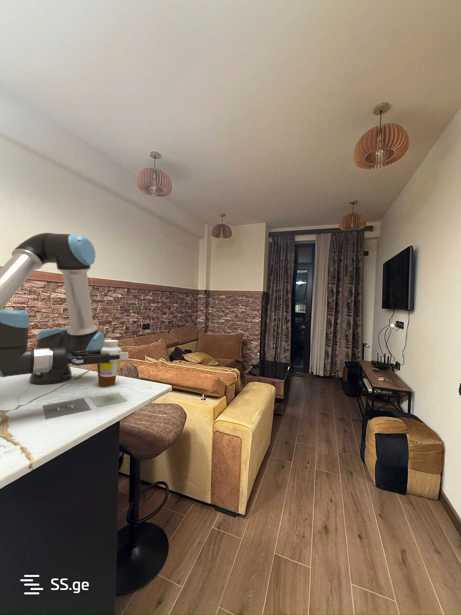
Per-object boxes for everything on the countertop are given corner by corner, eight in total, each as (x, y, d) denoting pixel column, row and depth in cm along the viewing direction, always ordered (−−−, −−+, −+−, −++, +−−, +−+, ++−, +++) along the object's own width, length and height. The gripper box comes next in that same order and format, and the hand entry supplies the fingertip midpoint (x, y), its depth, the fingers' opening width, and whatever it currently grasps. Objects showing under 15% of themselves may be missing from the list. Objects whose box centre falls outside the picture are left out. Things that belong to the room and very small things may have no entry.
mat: (90, 398, 89) (90, 397, 89) (118, 392, 96) (118, 392, 96) (96, 407, 82) (96, 406, 82) (126, 400, 89) (126, 400, 89)
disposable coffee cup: (108, 389, 99) (110, 360, 100) (89, 386, 101) (90, 358, 101) (123, 382, 109) (124, 356, 109) (105, 380, 111) (106, 354, 111)
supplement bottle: (114, 371, 93) (116, 339, 94) (122, 375, 89) (124, 341, 89) (96, 374, 88) (98, 340, 88) (104, 378, 84) (106, 342, 84)
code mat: (42, 405, 81) (42, 405, 81) (83, 398, 89) (83, 398, 89) (45, 419, 72) (45, 418, 72) (90, 409, 80) (90, 409, 80)
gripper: (47, 365, 84) (116, 359, 99) (53, 379, 70) (133, 369, 85) (48, 344, 84) (117, 341, 100) (54, 353, 70) (134, 348, 85)
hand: (124, 354), depth 92 cm, fingers closed on supplement bottle, 7 cm apart
